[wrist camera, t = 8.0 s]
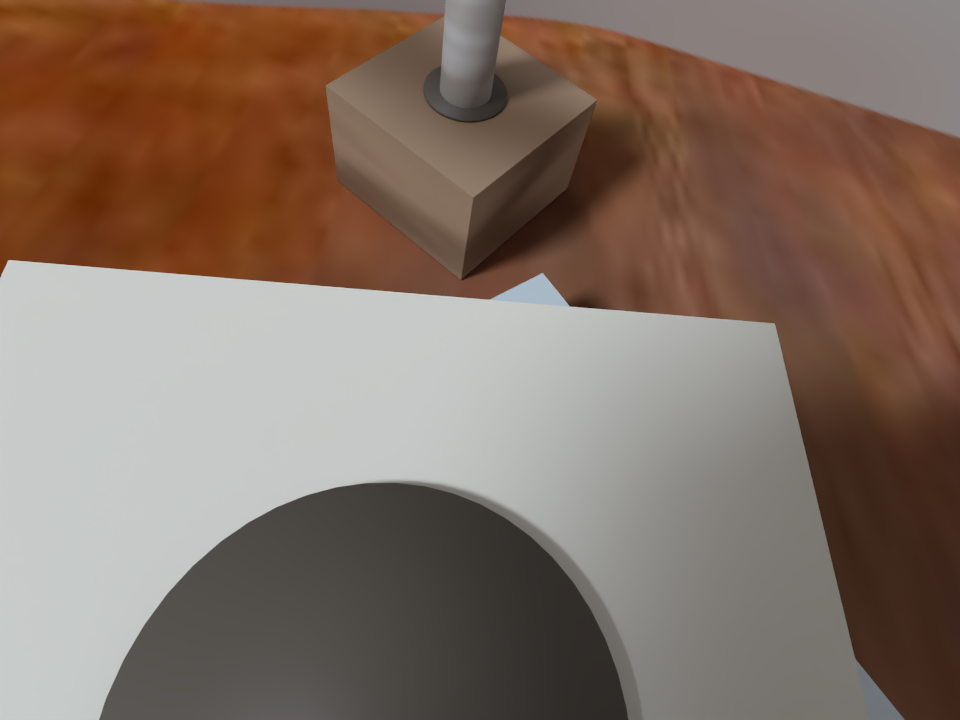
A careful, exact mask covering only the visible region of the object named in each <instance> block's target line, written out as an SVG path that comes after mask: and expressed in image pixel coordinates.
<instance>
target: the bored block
mask: <svg viewBox="0 0 960 720" xmlns="http://www.w3.org/2000/svg"><path fill="white" fill-rule="evenodd" d="M0 720H870V719H869V715H868V711H867V706H866V702H865V698H864V694H863V690H862V686H861V681H860V677H859V673H858V669H857V665H856V660H855V656H854V652H853V648H852V644H851V640H850V635H849V631H848V627H847V623H846V619H845V615H844V610H843V606H842V602H841V598H840V594H839V590H838V585H837V581H836V577H835V573H834V569H833V564H832V560H831V556H830V552H829V548H828V544H827V539H826V535H825V531H824V527H823V523H822V519H821V514H820V510H819V506H818V502H817V498H816V494H815V489H814V485H813V481H812V477H811V473H810V469H809V464H808V460H807V456H806V452H805V448H804V443H803V439H802V435H801V431H800V427H799V423H798V418H797V414H796V410H795V406H794V402H793V398H792V393H791V389H790V385H789V381H788V377H787V373H786V368H785V364H784V360H783V356H782V352H781V347H780V343H779V339H778V335H777V331H776V327H775V324H774V323H762V322H750V321H738V320H726V319H714V318H702V317H690V316H678V315H666V314H653V313H641V312H629V311H617V310H605V309H593V308H581V307H569V306H557V305H545V304H533V303H520V302H508V301H496V300H484V299H472V298H460V297H448V296H436V295H424V294H412V293H400V292H388V291H375V290H363V289H351V288H339V287H327V286H315V285H303V284H291V283H279V282H267V281H255V280H242V279H230V278H218V277H206V276H194V275H182V274H170V273H158V272H146V271H134V270H122V269H110V268H97V267H85V266H73V265H61V264H49V263H37V262H25V261H13V260H8V262H7V265H6V267H5V269H4V271H3V273H2V275H1V277H0Z"/></svg>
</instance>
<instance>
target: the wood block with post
mask: <svg viewBox="0 0 960 720" xmlns="http://www.w3.org/2000/svg"><path fill="white" fill-rule="evenodd" d="M505 2H506V0H446V2H445V16H444V17H442V18H440V19H439V20H437V21H435V22H434V23H432V24H430V25H428V26H427V27H425V28H423V29H422V30H420V31H418V32H416V33H415V34H413V35H411V36H410V37H408V38H406V39H404V40H403V41H401V42H399V43H398V44H396V45H394V46H392V47H391V48H389V49H387V50H386V51H384V52H382V53H380V54H379V55H377V56H375V57H374V58H372V59H370V60H368V61H367V62H365V63H363V64H362V65H360V66H358V67H356V68H355V69H353V70H351V71H350V72H348V73H346V74H344V75H343V76H341V77H339V78H338V79H336V80H334V81H332V82H331V83H329V84H327V85H326V92H327V100H328V108H329V116H330V124H331V131H332V139H333V147H334V155H335V163H336V171H337V178H338V181H339V182H340V183H341V184H343V185H344V186H345V187H346V188H347V189H349V190H350V191H351V192H352V193H354V194H355V195H356V196H357V197H359V198H360V199H361V200H362V201H364V202H365V203H366V204H367V205H369V206H370V207H371V208H372V209H374V210H375V211H376V212H377V213H378V214H380V215H381V216H382V217H383V218H385V219H386V220H387V221H388V222H390V223H391V224H392V225H393V226H395V227H396V228H397V229H398V230H400V231H401V232H402V233H403V234H405V235H406V236H407V237H408V238H409V239H411V240H412V241H413V242H414V243H416V244H417V245H418V246H419V247H421V248H422V249H423V250H424V251H426V252H427V253H428V254H429V255H431V256H432V257H433V258H434V259H436V260H437V261H438V262H439V263H440V264H442V265H443V266H444V267H445V268H447V269H448V270H449V271H450V272H452V273H453V274H454V275H455V276H457V277H458V278H459V279H460V280H461V279H463V278H464V277H465V276H466V275H467V274H468V273H470V272H471V271H472V270H473V269H474V268H475V267H477V266H478V265H479V264H480V263H481V262H482V261H484V260H485V259H486V258H487V257H488V256H489V255H490V254H492V253H493V252H494V251H495V250H496V249H497V248H499V247H500V246H501V245H502V244H503V243H504V242H506V241H507V240H508V239H509V238H510V237H511V236H513V235H514V234H515V233H516V232H517V231H518V230H520V229H521V228H522V227H523V226H524V225H525V224H526V223H528V222H529V221H530V220H531V219H532V218H533V217H535V216H536V215H537V214H538V213H539V212H540V211H542V210H543V209H544V208H545V207H546V206H547V205H549V204H550V203H551V202H552V201H553V200H554V199H556V198H557V197H558V196H559V195H560V194H561V193H563V192H564V191H565V190H566V189H567V187H568V185H569V182H570V179H571V176H572V173H573V170H574V167H575V164H576V161H577V158H578V155H579V152H580V149H581V146H582V143H583V140H584V137H585V135H586V132H587V129H588V126H589V123H590V120H591V117H592V114H593V111H594V108H595V105H596V102H597V100H596V99H595V98H593V97H592V96H590V95H589V94H587V93H586V92H584V91H583V90H581V89H580V88H578V87H577V86H575V85H574V84H572V83H571V82H569V81H568V80H566V79H565V78H563V77H562V76H560V75H559V74H557V73H556V72H554V71H553V70H551V69H550V68H548V67H547V66H545V65H544V64H542V63H541V62H539V61H538V60H536V59H535V58H533V57H532V56H530V55H529V54H527V53H526V52H524V51H523V50H521V49H520V48H518V47H517V46H515V45H514V44H512V43H511V42H509V41H508V40H506V39H505V38H504V37H502V36H501V35H500V34H501V28H502V21H503V15H504V8H505Z"/></svg>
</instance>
